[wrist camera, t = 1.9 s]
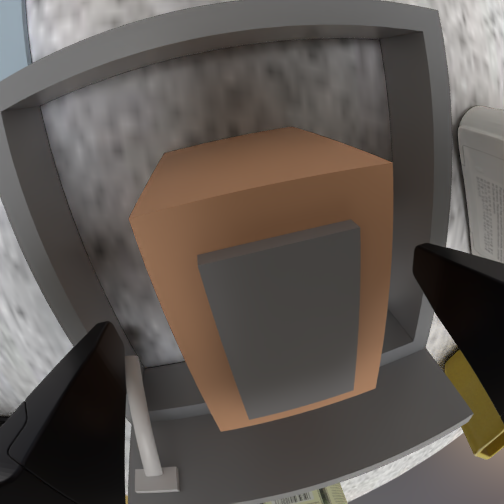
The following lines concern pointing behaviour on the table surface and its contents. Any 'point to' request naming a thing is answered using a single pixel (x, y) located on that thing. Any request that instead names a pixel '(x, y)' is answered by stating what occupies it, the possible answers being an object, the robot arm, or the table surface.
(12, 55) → the mat
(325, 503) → the coffee can
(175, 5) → the table surface
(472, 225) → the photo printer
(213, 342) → the block
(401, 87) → the grey open frame
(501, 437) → the flower pot
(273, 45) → the table surface
